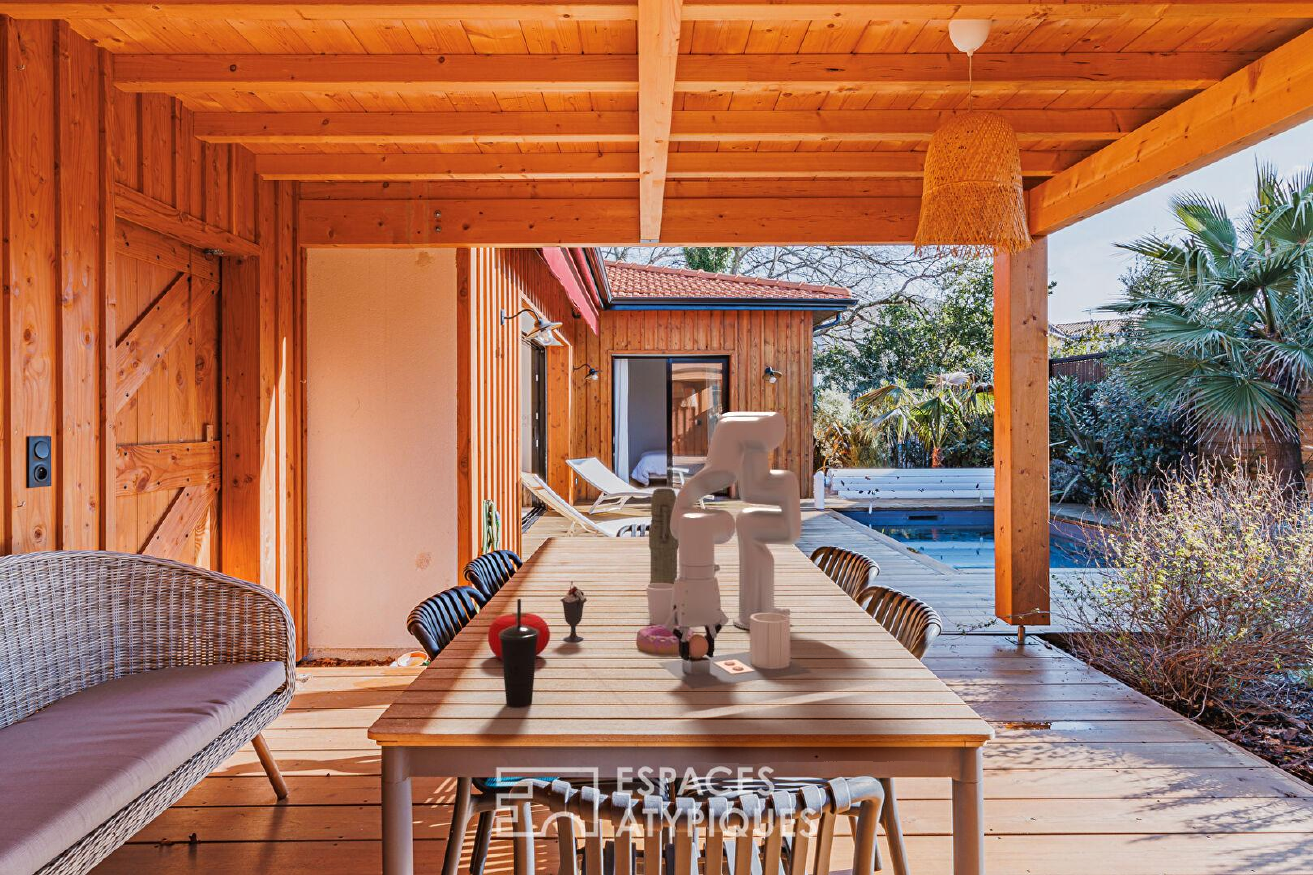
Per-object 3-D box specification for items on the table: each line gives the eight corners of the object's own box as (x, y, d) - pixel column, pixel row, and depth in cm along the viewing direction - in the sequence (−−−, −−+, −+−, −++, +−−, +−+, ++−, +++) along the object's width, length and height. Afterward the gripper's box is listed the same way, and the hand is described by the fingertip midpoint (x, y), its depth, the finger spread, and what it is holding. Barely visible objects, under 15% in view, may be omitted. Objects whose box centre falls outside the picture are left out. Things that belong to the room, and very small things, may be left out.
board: (768, 654, 179) (768, 647, 179) (812, 677, 162) (812, 670, 162) (658, 668, 169) (658, 661, 168) (692, 694, 152) (692, 686, 152)
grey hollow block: (700, 667, 165) (701, 654, 165) (710, 673, 161) (710, 659, 161) (682, 670, 163) (682, 656, 163) (691, 676, 159) (691, 662, 159)
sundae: (565, 644, 187) (565, 583, 187) (556, 638, 193) (556, 578, 192) (590, 641, 190) (590, 581, 190) (580, 634, 196) (580, 576, 196)
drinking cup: (501, 696, 150) (501, 595, 150) (540, 695, 151) (540, 594, 151) (496, 710, 143) (496, 604, 142) (537, 709, 143) (537, 603, 143)
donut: (652, 640, 192) (652, 620, 192) (705, 647, 186) (705, 626, 186) (625, 655, 179) (625, 633, 179) (680, 663, 173) (680, 641, 173)
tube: (776, 654, 175) (776, 611, 175) (797, 666, 166) (797, 620, 166) (742, 659, 171) (743, 614, 171) (763, 670, 163) (763, 624, 163)
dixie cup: (663, 627, 203) (664, 590, 203) (639, 622, 208) (639, 586, 208) (682, 621, 210) (682, 585, 210) (657, 616, 215) (657, 581, 215)
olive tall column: (674, 601, 234) (675, 487, 234) (681, 610, 222) (682, 490, 222) (646, 602, 233) (646, 487, 232) (651, 611, 221) (652, 490, 221)
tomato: (475, 662, 173) (475, 616, 172) (506, 647, 184) (506, 604, 184) (530, 669, 167) (530, 622, 167) (559, 653, 179) (559, 609, 179)
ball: (702, 653, 166) (702, 630, 166) (712, 659, 161) (712, 636, 161) (681, 655, 164) (681, 632, 164) (690, 662, 159) (690, 638, 159)
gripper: (724, 565, 169) (724, 647, 169) (652, 571, 162) (652, 657, 163) (740, 572, 162) (740, 657, 162) (666, 578, 155) (666, 667, 156)
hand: (696, 656), depth 162 cm, fingers closed on ball, 4 cm apart
